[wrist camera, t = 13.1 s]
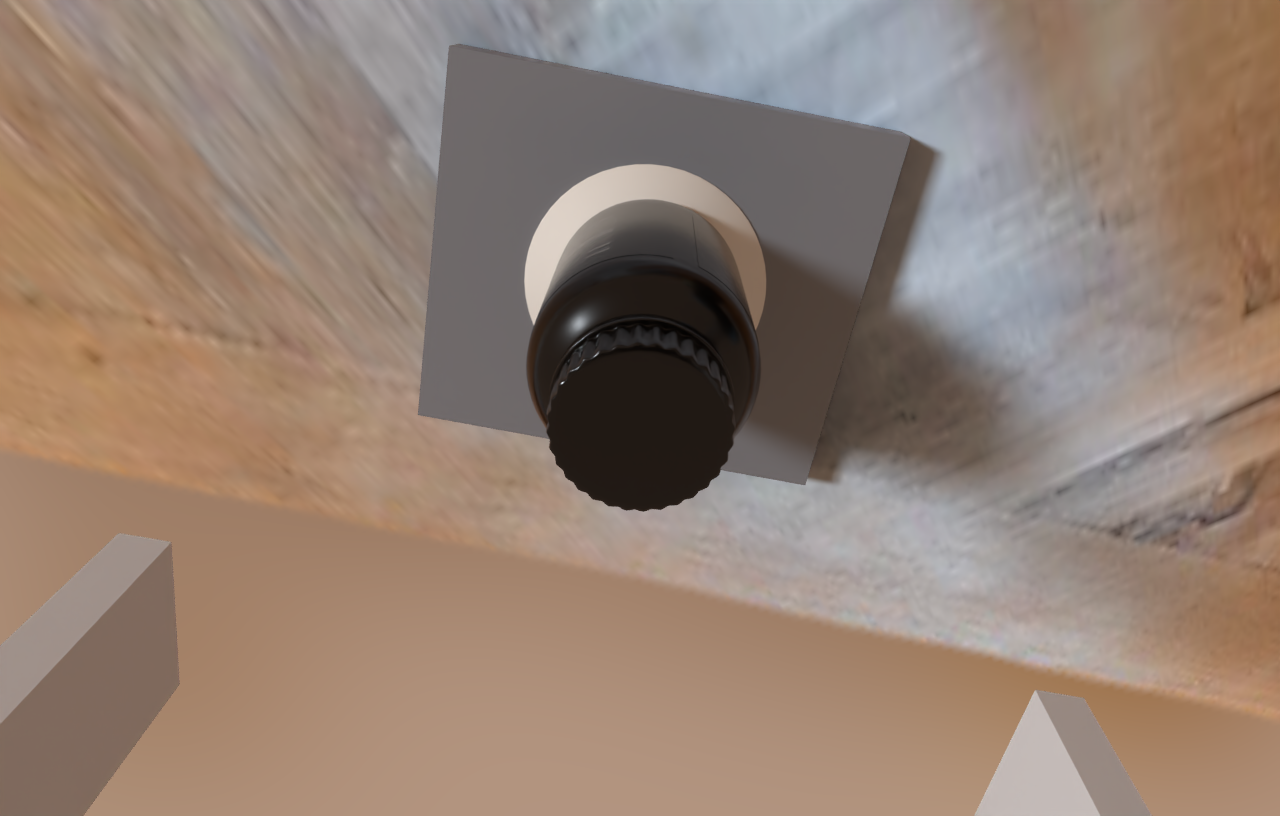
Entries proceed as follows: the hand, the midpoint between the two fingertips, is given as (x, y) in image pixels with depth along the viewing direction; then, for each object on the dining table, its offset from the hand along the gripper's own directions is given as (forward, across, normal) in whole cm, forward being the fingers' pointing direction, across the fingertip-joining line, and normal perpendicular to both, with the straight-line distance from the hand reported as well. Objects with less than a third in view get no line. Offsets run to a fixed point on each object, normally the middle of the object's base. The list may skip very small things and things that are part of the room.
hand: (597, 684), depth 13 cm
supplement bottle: (+21, 0, 0) cm, 21 cm away
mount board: (+23, 0, 0) cm, 23 cm away
